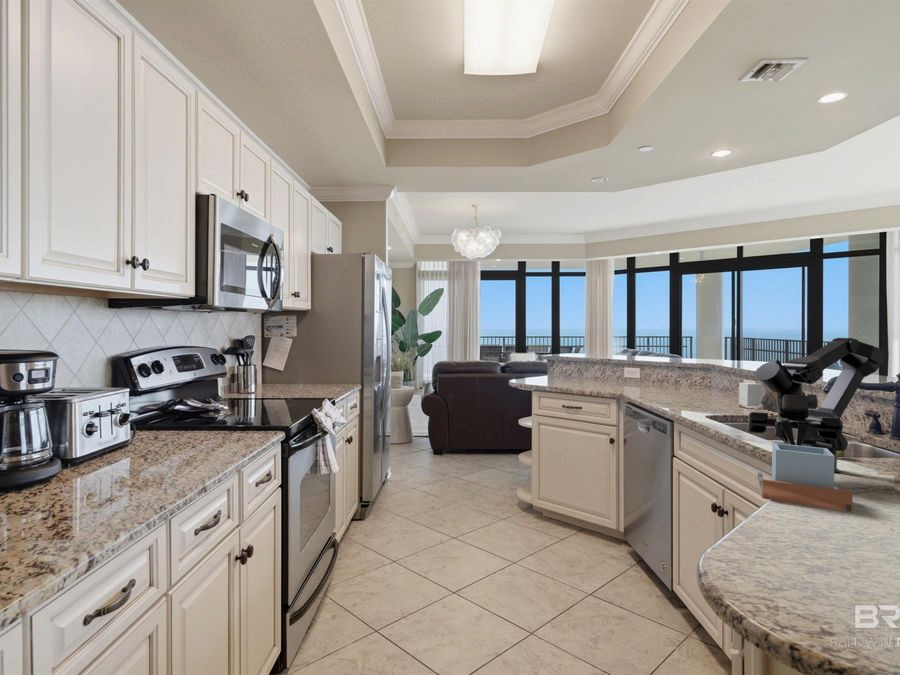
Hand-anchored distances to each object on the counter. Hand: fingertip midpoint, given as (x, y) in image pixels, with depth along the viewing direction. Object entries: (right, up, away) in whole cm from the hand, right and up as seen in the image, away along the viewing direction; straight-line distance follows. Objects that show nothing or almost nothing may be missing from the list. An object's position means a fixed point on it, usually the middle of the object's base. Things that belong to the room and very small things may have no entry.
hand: (796, 454), depth 116 cm
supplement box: (+70, -8, +133) cm, 150 cm away
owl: (+71, -8, +111) cm, 132 cm away
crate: (-6, -6, -10) cm, 13 cm away
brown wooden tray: (-5, -8, -8) cm, 12 cm away
